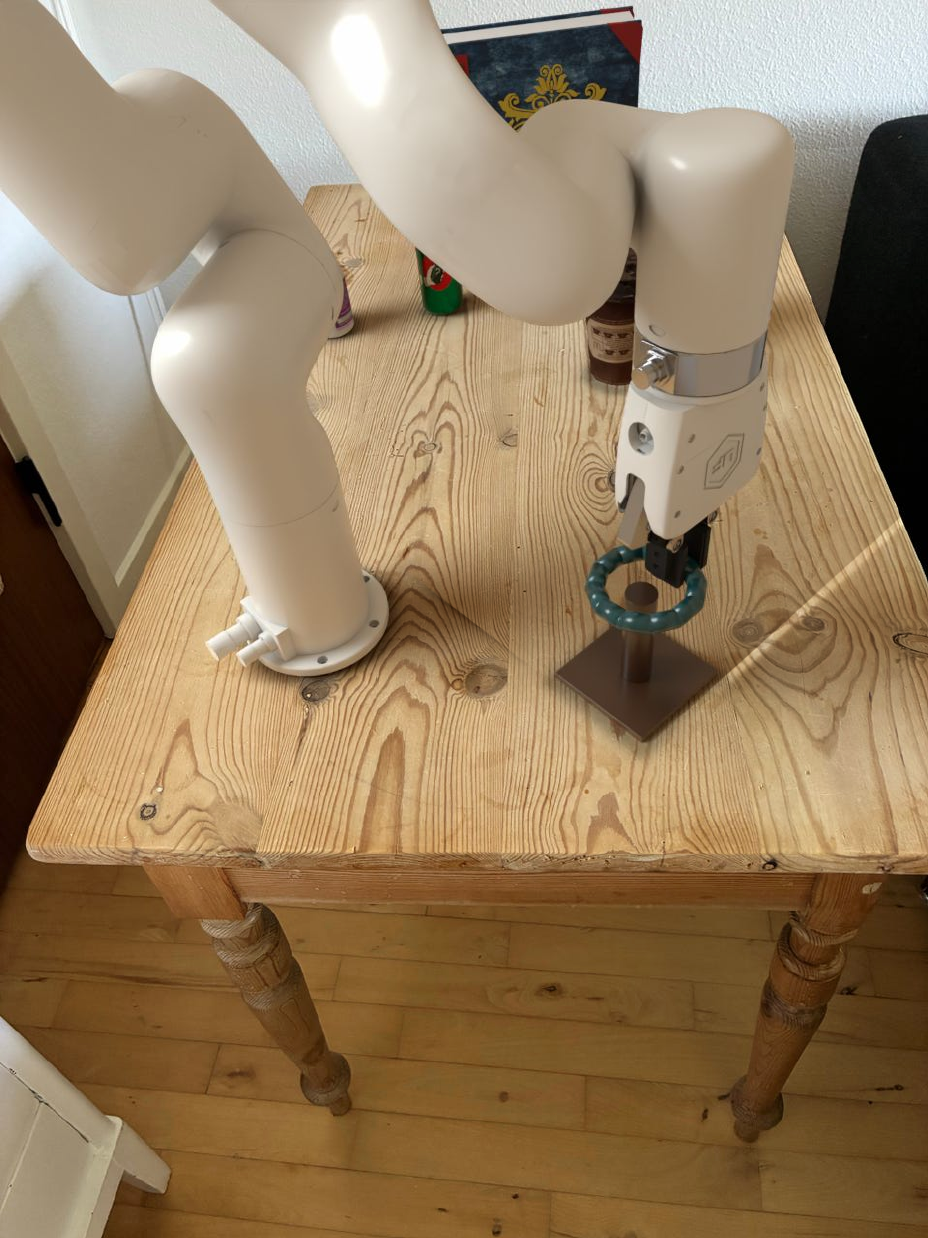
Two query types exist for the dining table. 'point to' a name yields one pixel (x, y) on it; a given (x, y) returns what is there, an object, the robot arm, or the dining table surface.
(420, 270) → the soda can
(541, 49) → the book
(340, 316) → the pill bottle
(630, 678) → the peg stand
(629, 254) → the coffee cup
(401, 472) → the dining table surface
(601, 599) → the ring
